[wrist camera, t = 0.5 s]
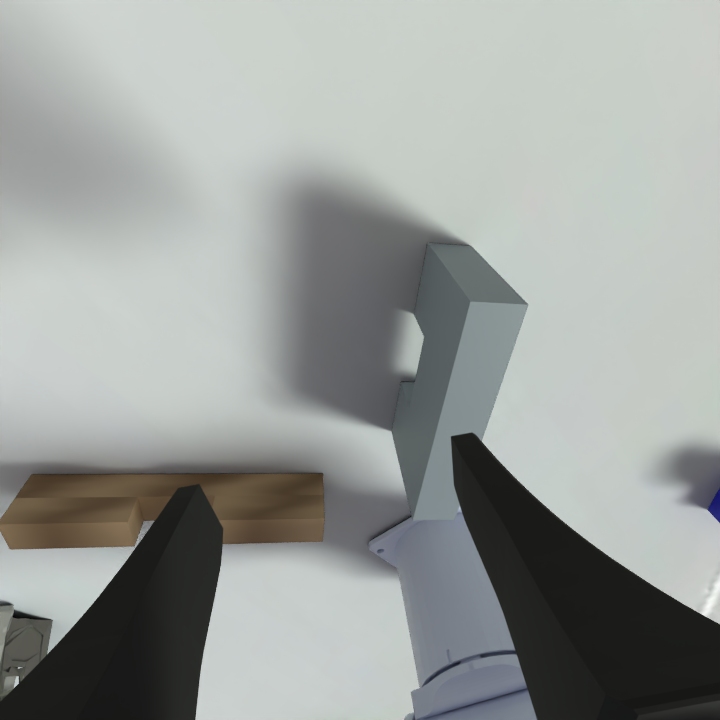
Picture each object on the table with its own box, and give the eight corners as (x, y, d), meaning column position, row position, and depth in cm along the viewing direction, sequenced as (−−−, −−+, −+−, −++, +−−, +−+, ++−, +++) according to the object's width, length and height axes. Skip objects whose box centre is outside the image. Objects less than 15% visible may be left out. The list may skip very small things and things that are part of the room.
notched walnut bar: (322, 473, 26) (324, 518, 24) (321, 496, 27) (322, 541, 25) (31, 474, 24) (-4, 524, 21) (41, 498, 25) (10, 549, 22)
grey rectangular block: (425, 431, 25) (454, 519, 20) (391, 431, 25) (412, 520, 20) (471, 246, 19) (528, 304, 14) (427, 242, 19) (470, 301, 14)
